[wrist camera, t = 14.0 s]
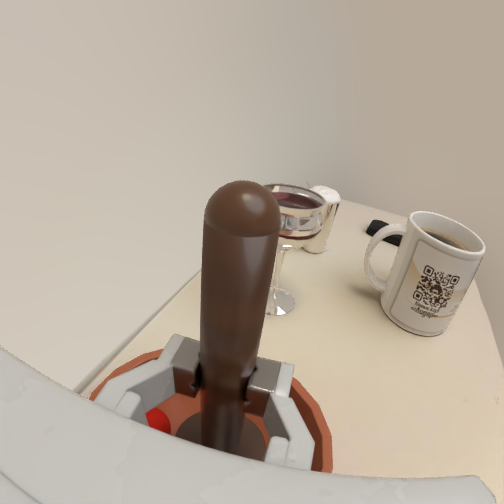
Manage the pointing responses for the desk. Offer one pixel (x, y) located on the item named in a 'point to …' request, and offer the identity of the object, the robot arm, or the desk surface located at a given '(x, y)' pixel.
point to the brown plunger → (233, 314)
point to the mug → (426, 271)
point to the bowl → (186, 406)
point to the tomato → (158, 420)
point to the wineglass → (293, 233)
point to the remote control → (378, 224)
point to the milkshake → (324, 218)
